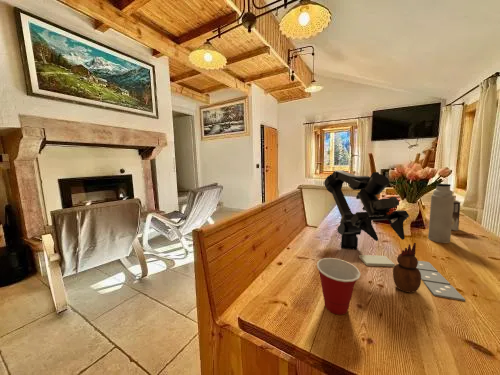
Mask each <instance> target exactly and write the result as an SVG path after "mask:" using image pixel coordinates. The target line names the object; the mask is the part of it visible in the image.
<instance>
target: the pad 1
mask: <svg viewBox="0 0 500 375" xmlns="http://www.w3.org/2000/svg"><path fill="white" fill-rule="evenodd" d="M416 268H418V270H425V271H432V272H439V271H438V270H437V269H436V268H435V267H434V266H433V264H432V263H430V261H424V260H418V265H417V267H416Z"/></svg>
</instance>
